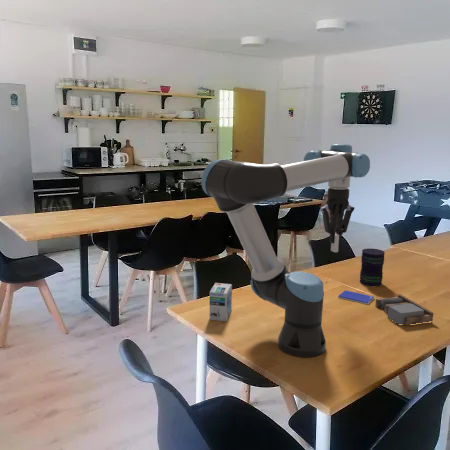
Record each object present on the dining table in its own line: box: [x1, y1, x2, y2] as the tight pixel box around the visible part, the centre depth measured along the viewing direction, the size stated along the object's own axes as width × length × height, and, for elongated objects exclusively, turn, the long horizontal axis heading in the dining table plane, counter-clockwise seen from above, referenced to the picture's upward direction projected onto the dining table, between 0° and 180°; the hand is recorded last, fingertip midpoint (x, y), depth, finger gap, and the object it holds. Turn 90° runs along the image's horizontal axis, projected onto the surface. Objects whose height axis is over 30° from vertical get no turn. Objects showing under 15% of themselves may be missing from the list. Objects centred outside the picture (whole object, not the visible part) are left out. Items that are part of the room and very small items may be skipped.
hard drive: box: [337, 289, 375, 305], centre depth 189 cm, size 2×8×12 cm
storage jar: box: [359, 248, 385, 287], centre depth 207 cm, size 10×10×15 cm
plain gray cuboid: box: [386, 303, 424, 325], centre depth 168 cm, size 10×7×5 cm
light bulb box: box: [209, 282, 233, 322], centre depth 169 cm, size 11×7×11 cm, turn 170°
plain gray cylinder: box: [380, 298, 404, 311], centre depth 179 cm, size 8×4×4 cm, turn 105°
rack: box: [374, 293, 434, 326], centre depth 173 cm, size 11×19×4 cm, turn 15°
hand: (334, 251), depth 169 cm, fingers closed
